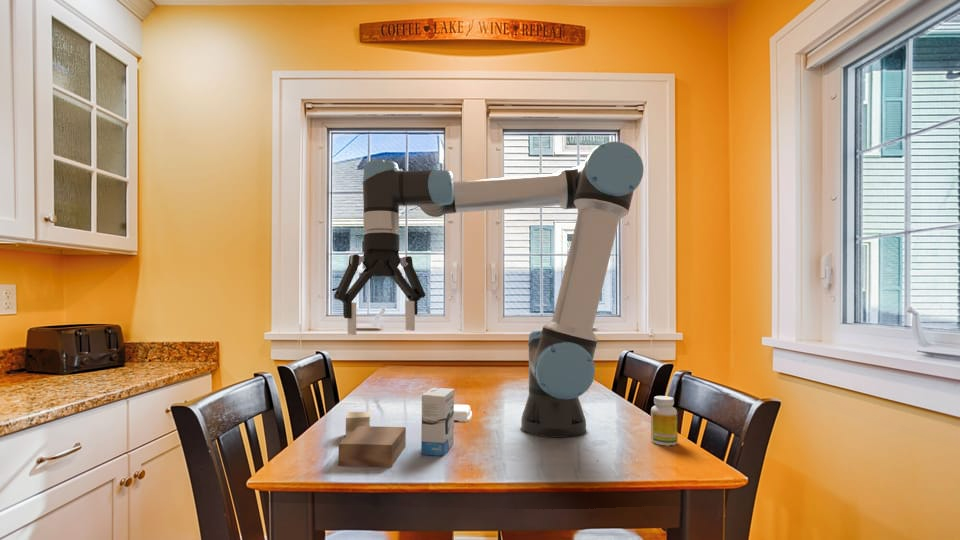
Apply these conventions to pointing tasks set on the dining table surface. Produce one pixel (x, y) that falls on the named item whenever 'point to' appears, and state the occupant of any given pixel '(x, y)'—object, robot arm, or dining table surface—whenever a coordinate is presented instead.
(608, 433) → the dining table surface
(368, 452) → the walnut block
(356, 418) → the maple cube
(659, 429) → the supplement bottle
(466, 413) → the soap
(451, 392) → the ink box
